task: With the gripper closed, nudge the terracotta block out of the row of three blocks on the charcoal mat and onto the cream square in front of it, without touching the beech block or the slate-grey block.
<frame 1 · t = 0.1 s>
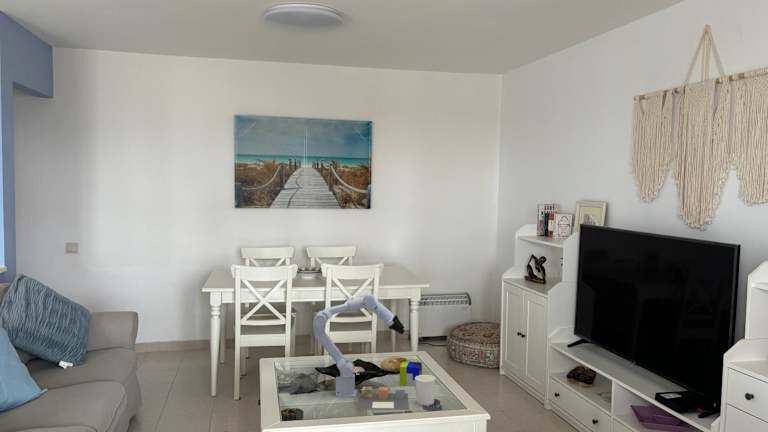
hand: (403, 330, 286), 32 cm above the table, tool tilted 50°, fingers open, 7 cm apart
candle holder: (425, 403, 276), on the table
slate block: (399, 397, 282), resting on mat
terracotta block: (383, 397, 282), resting on mat
beech block: (367, 397, 282), resting on mat
nautilus: (399, 372, 325), on the table
mat: (383, 401, 277), on the table
mineral rock: (304, 392, 291), on the table
puzzle toy: (411, 383, 305), on the table
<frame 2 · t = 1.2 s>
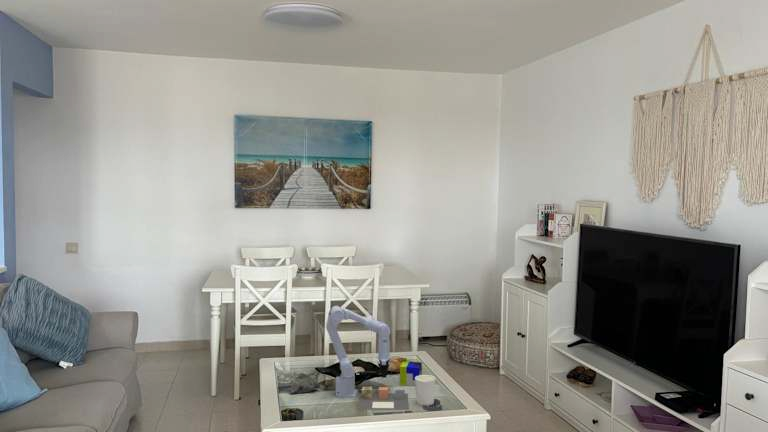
hand: (384, 375, 291), 9 cm above the table, tool pointing down, fingers open, 7 cm apart
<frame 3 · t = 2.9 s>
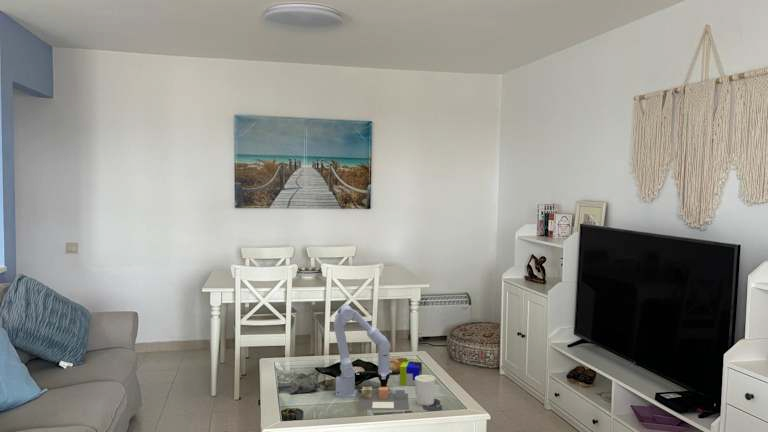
hand: (383, 389, 291), 1 cm above the table, tool pointing down, fingers closed
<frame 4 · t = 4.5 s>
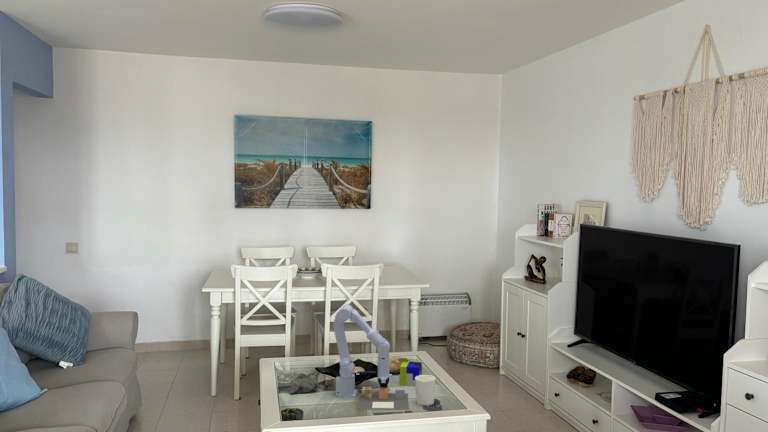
hand: (383, 393, 285), 1 cm above the table, tool pointing down, fingers closed
terracotta block: (383, 397, 282), resting on mat, touching gripper
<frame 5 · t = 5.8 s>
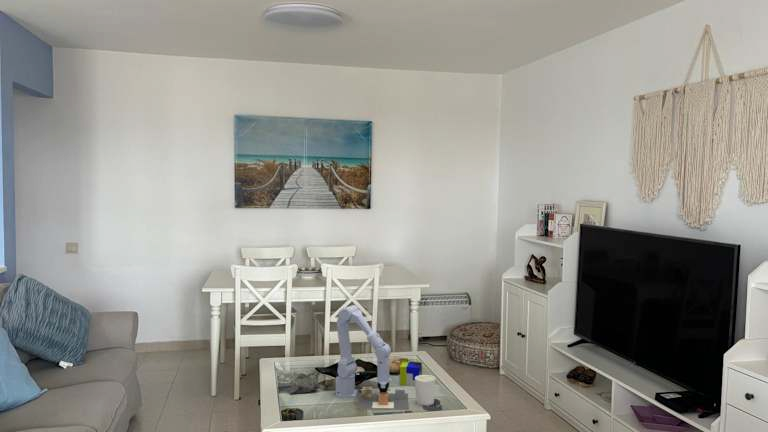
hand: (383, 398, 278), 1 cm above the table, tool pointing down, fingers closed
terracotta block: (383, 403, 274), resting on mat, touching gripper
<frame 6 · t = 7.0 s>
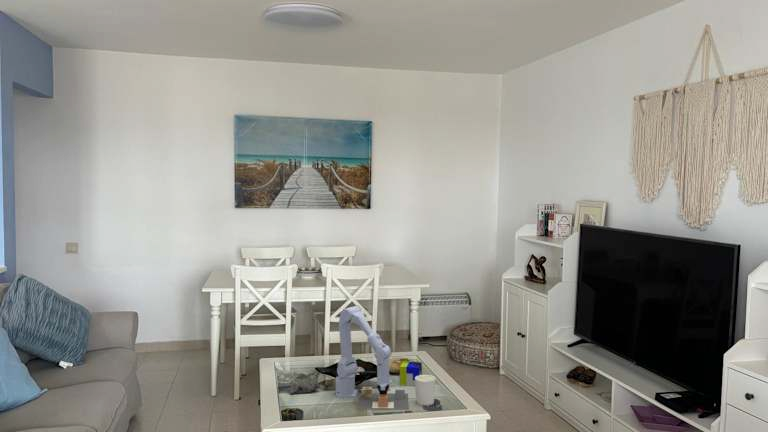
hand: (383, 400, 275), 1 cm above the table, tool pointing down, fingers closed
terracotta block: (383, 405, 271), resting on mat, touching gripper
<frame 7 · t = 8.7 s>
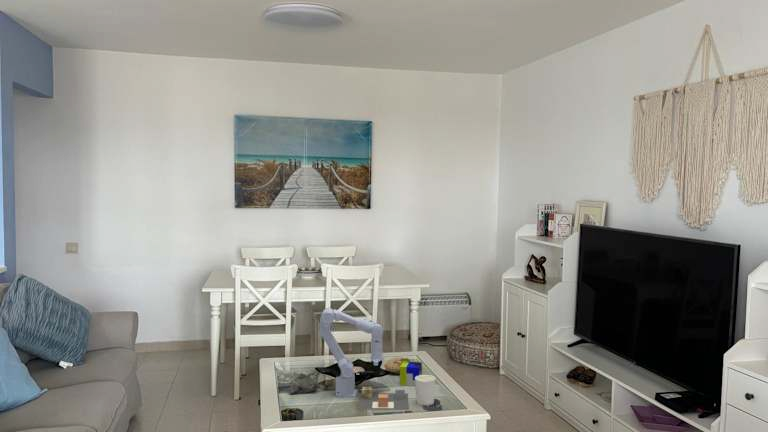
hand: (376, 375, 288), 9 cm above the table, tool pointing down, fingers closed
terracotta block: (383, 405, 271), resting on mat
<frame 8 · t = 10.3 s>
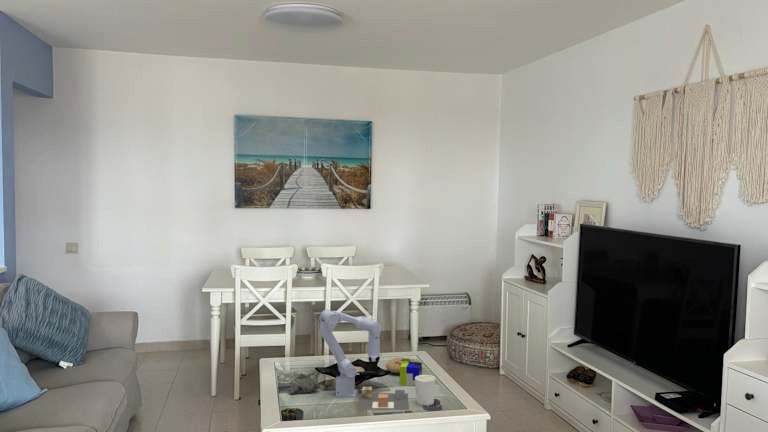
hand: (374, 371, 294), 9 cm above the table, tool pointing down, fingers closed
at the end: terracotta block inside the target area (0.7 cm from its centre), resting on mat; beech block moved 0.0 cm from its start; slate block moved 0.0 cm from its start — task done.
